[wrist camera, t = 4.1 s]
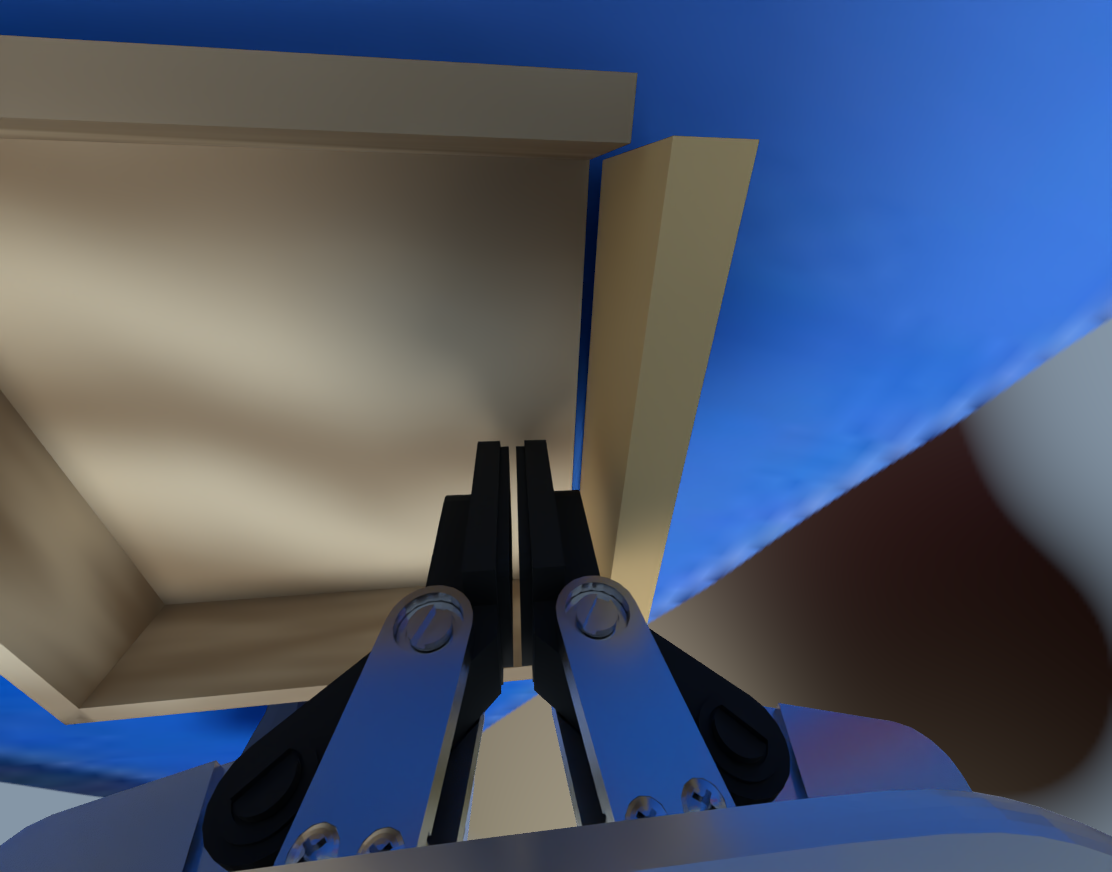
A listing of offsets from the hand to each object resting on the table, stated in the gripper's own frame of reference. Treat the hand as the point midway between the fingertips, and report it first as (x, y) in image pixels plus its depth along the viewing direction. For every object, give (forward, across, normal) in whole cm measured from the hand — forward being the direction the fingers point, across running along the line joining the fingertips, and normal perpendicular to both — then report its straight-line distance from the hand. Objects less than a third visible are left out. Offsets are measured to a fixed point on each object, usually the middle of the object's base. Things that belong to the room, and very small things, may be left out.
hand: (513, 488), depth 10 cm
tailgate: (+3, -4, 0) cm, 4 cm away
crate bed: (+3, +6, 0) cm, 6 cm away
